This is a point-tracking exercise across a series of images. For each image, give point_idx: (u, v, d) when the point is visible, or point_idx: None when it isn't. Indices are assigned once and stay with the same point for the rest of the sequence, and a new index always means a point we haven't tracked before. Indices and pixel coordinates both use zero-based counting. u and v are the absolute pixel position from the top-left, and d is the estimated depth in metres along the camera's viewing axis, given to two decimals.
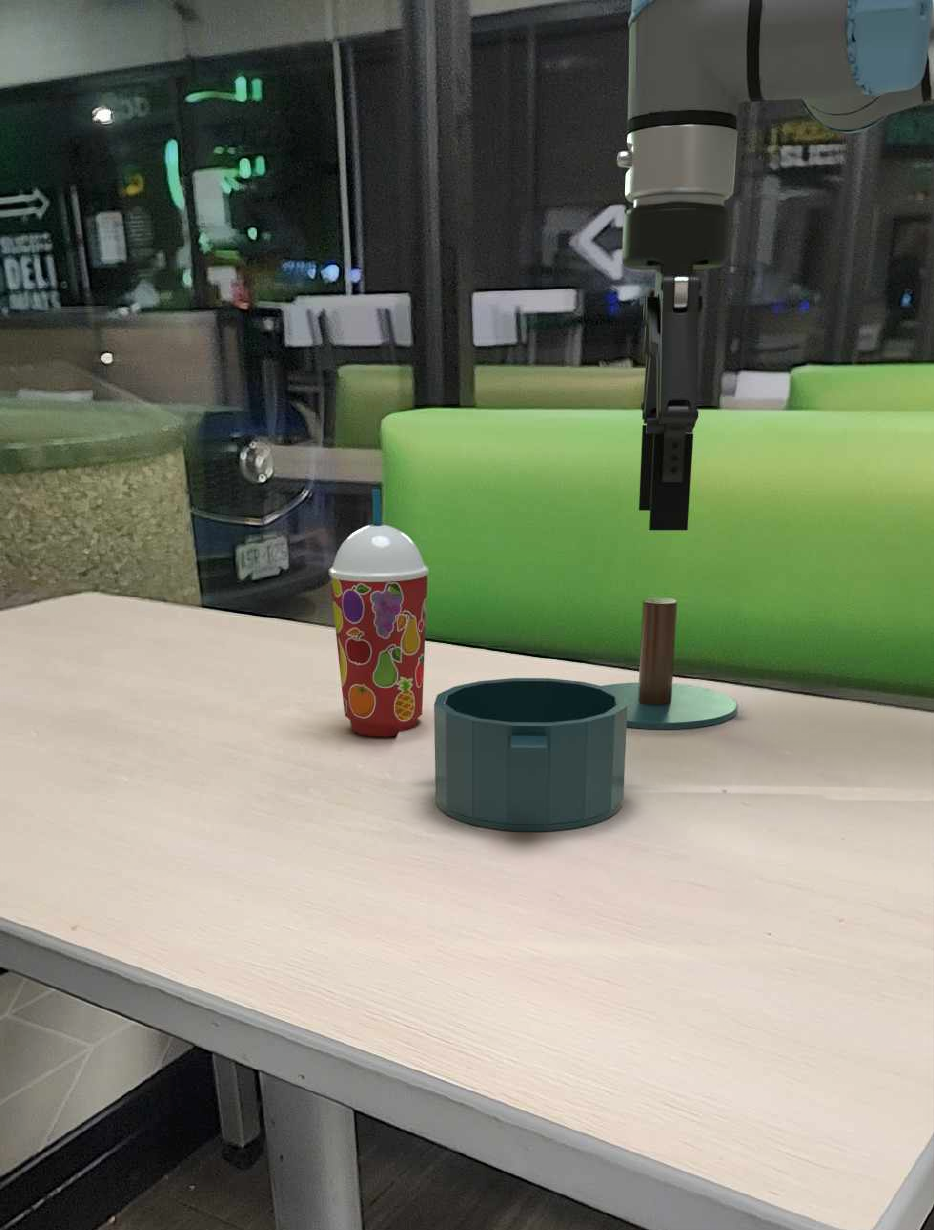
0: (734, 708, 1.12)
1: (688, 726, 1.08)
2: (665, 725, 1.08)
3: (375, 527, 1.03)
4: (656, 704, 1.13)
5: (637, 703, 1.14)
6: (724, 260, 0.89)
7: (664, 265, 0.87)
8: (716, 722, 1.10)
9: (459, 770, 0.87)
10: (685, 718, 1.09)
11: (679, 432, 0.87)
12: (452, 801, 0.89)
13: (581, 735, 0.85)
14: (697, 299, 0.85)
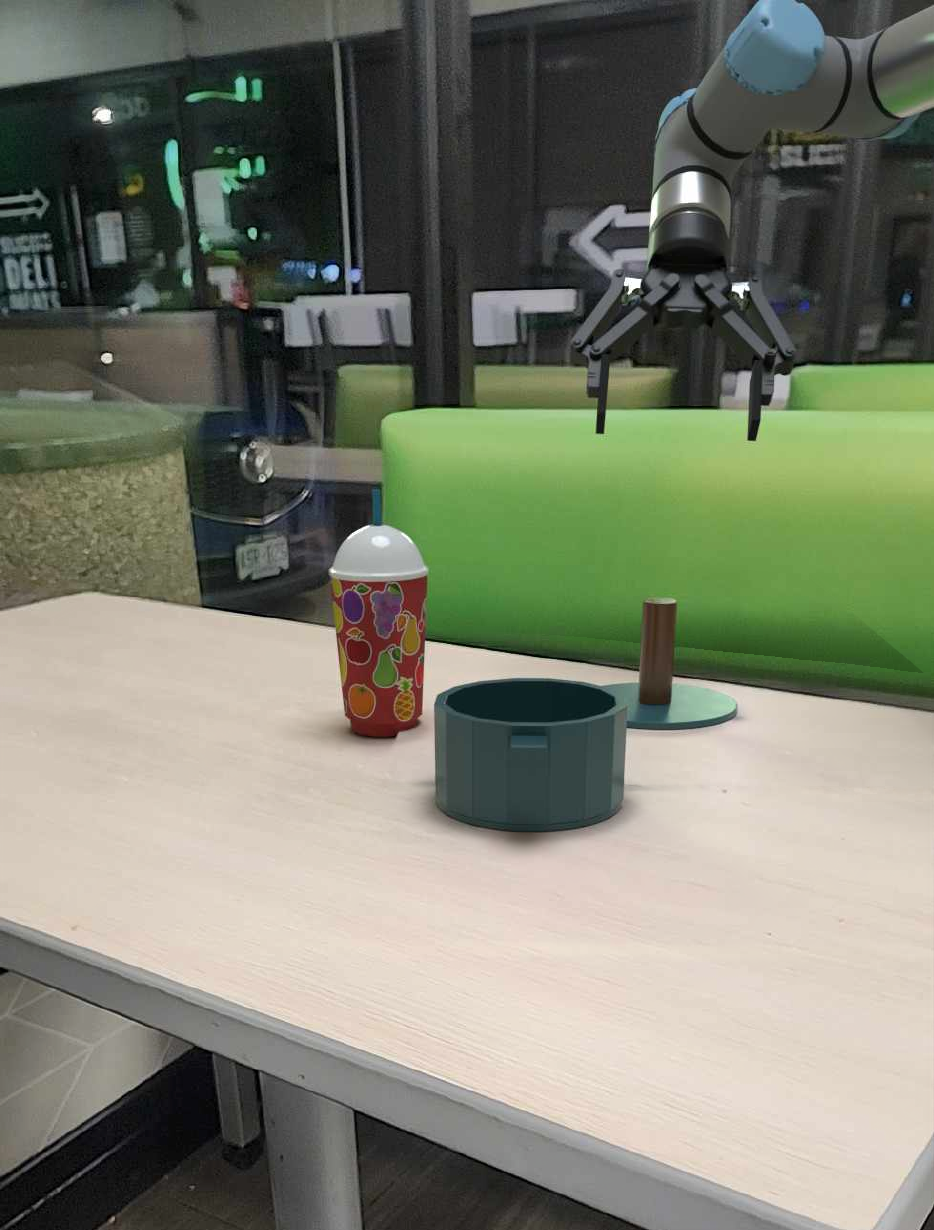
0: (734, 708, 1.12)
1: (688, 726, 1.08)
2: (665, 725, 1.08)
3: (375, 527, 1.03)
4: (656, 704, 1.13)
5: (637, 703, 1.14)
6: (675, 241, 1.15)
7: None
8: (716, 722, 1.10)
9: (459, 770, 0.87)
10: (685, 718, 1.09)
11: (586, 360, 1.15)
12: (452, 801, 0.89)
13: (581, 735, 0.85)
14: None
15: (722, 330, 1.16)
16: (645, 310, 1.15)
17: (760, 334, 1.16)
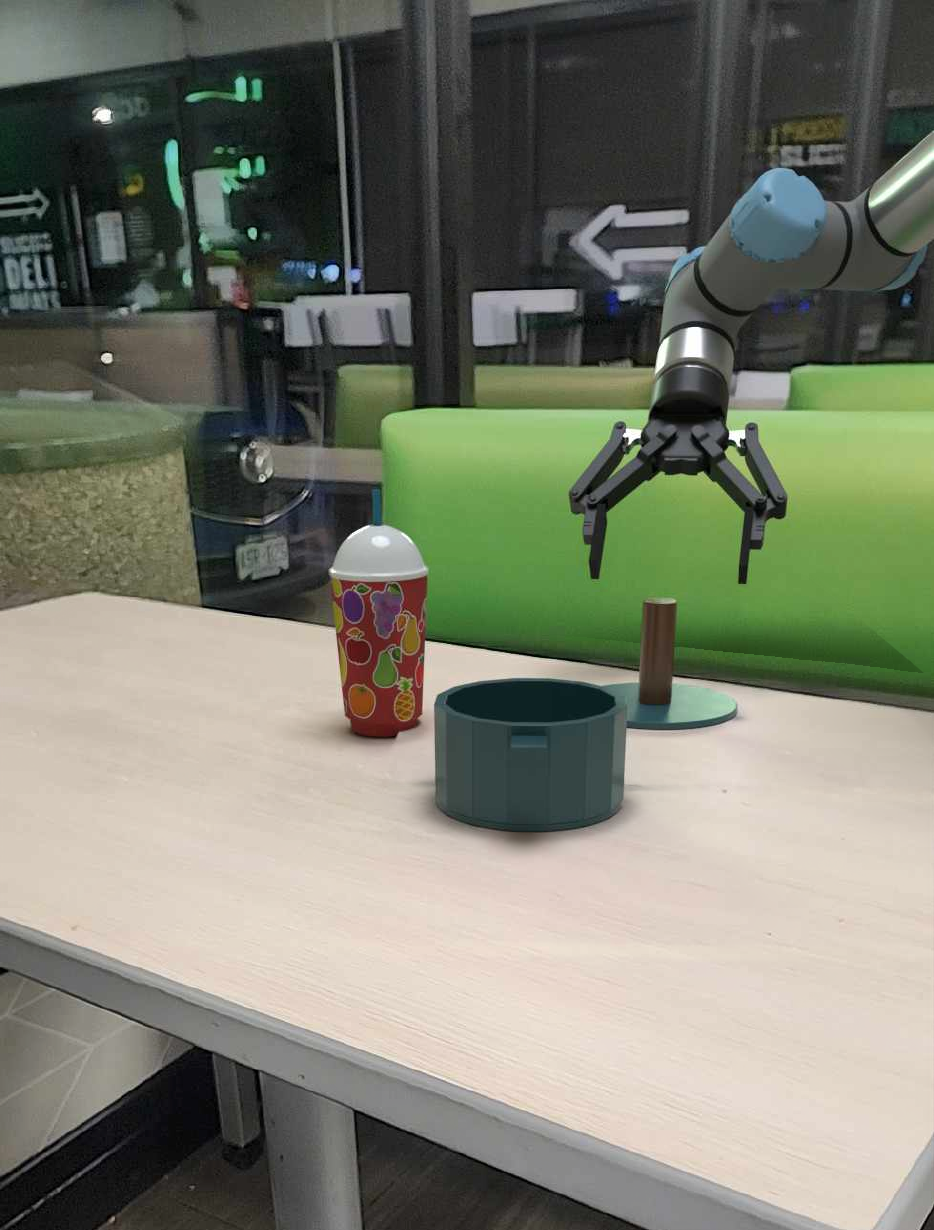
0: (734, 708, 1.12)
1: (688, 726, 1.08)
2: (665, 725, 1.08)
3: (375, 527, 1.03)
4: (656, 704, 1.13)
5: (637, 703, 1.14)
6: (671, 394, 1.19)
7: None
8: (716, 722, 1.10)
9: (459, 770, 0.87)
10: (685, 718, 1.09)
11: (584, 509, 1.20)
12: (452, 801, 0.89)
13: (581, 735, 0.85)
14: (611, 433, 1.22)
15: (718, 477, 1.19)
16: (642, 460, 1.20)
17: (756, 479, 1.19)
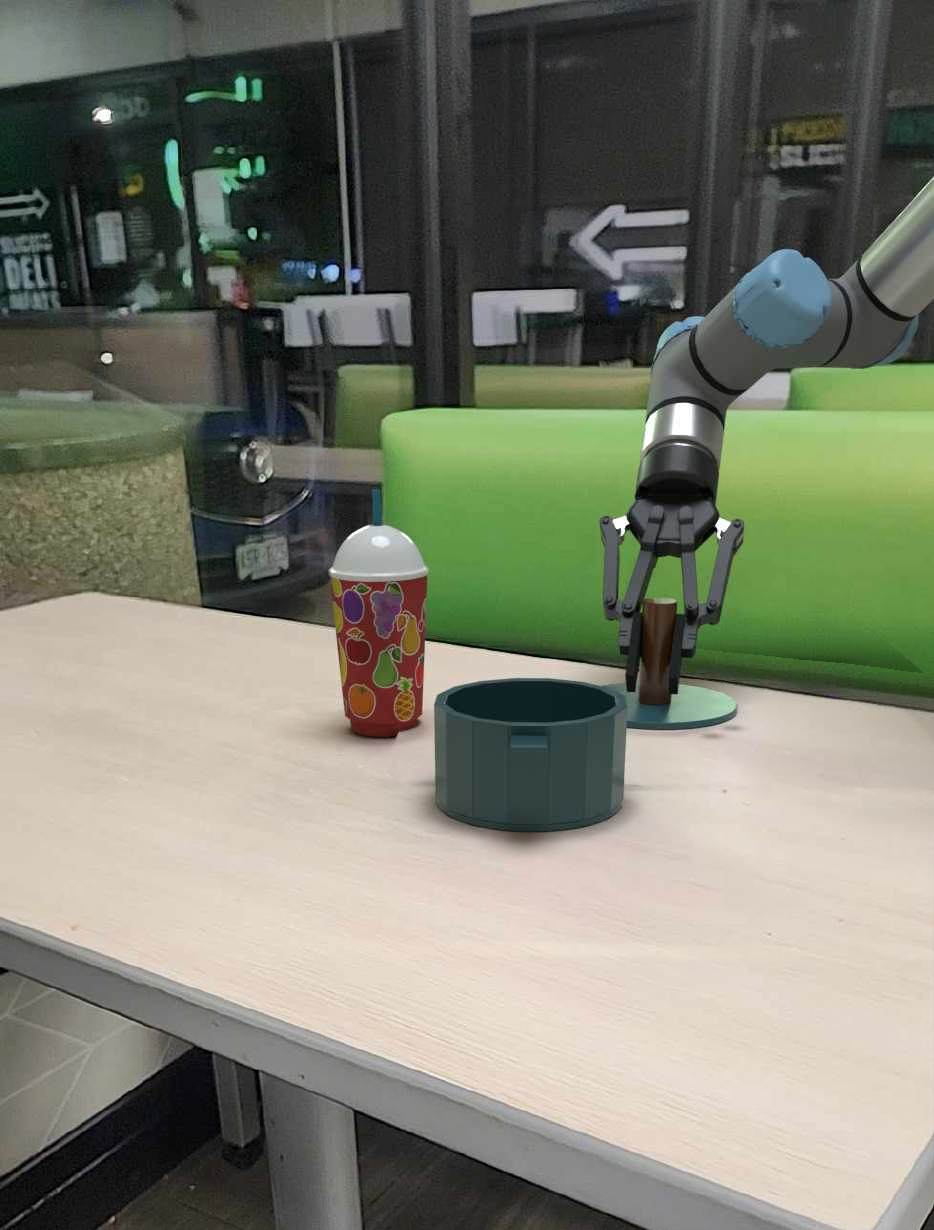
0: (734, 708, 1.12)
1: (688, 726, 1.08)
2: (665, 725, 1.08)
3: (375, 527, 1.03)
4: (656, 704, 1.13)
5: (637, 703, 1.14)
6: (659, 474, 1.14)
7: None
8: (716, 722, 1.10)
9: (459, 770, 0.87)
10: (685, 718, 1.09)
11: (619, 617, 1.13)
12: (452, 801, 0.89)
13: (581, 735, 0.85)
14: (602, 531, 1.16)
15: None
16: (649, 550, 1.14)
17: None
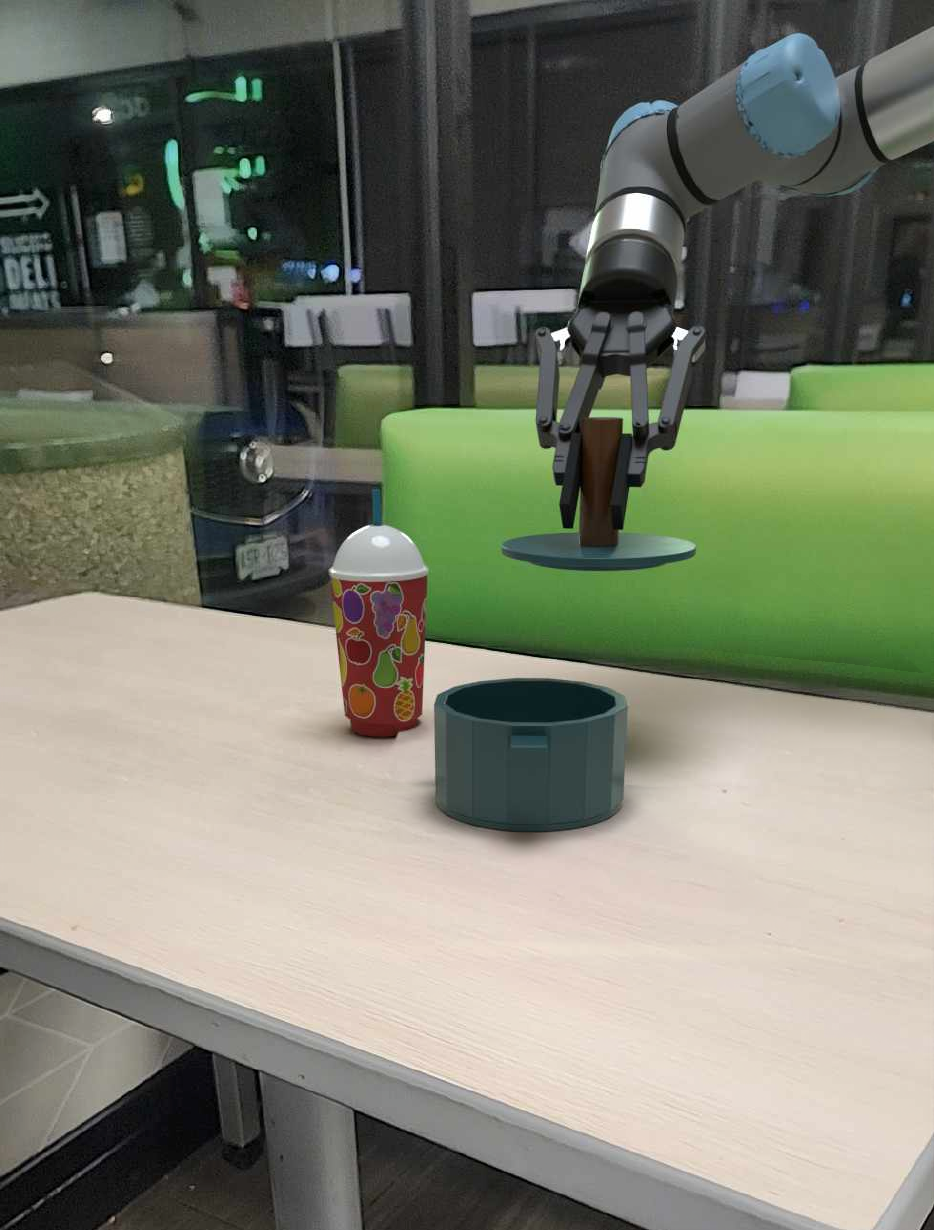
0: (691, 548, 0.94)
1: (634, 563, 0.90)
2: (606, 561, 0.90)
3: (375, 527, 1.03)
4: (599, 545, 0.95)
5: (577, 545, 0.96)
6: (604, 274, 0.96)
7: None
8: (668, 561, 0.91)
9: (459, 770, 0.87)
10: (631, 555, 0.91)
11: (555, 441, 0.95)
12: (452, 801, 0.89)
13: (581, 735, 0.85)
14: (538, 344, 0.98)
15: None
16: (592, 363, 0.96)
17: None
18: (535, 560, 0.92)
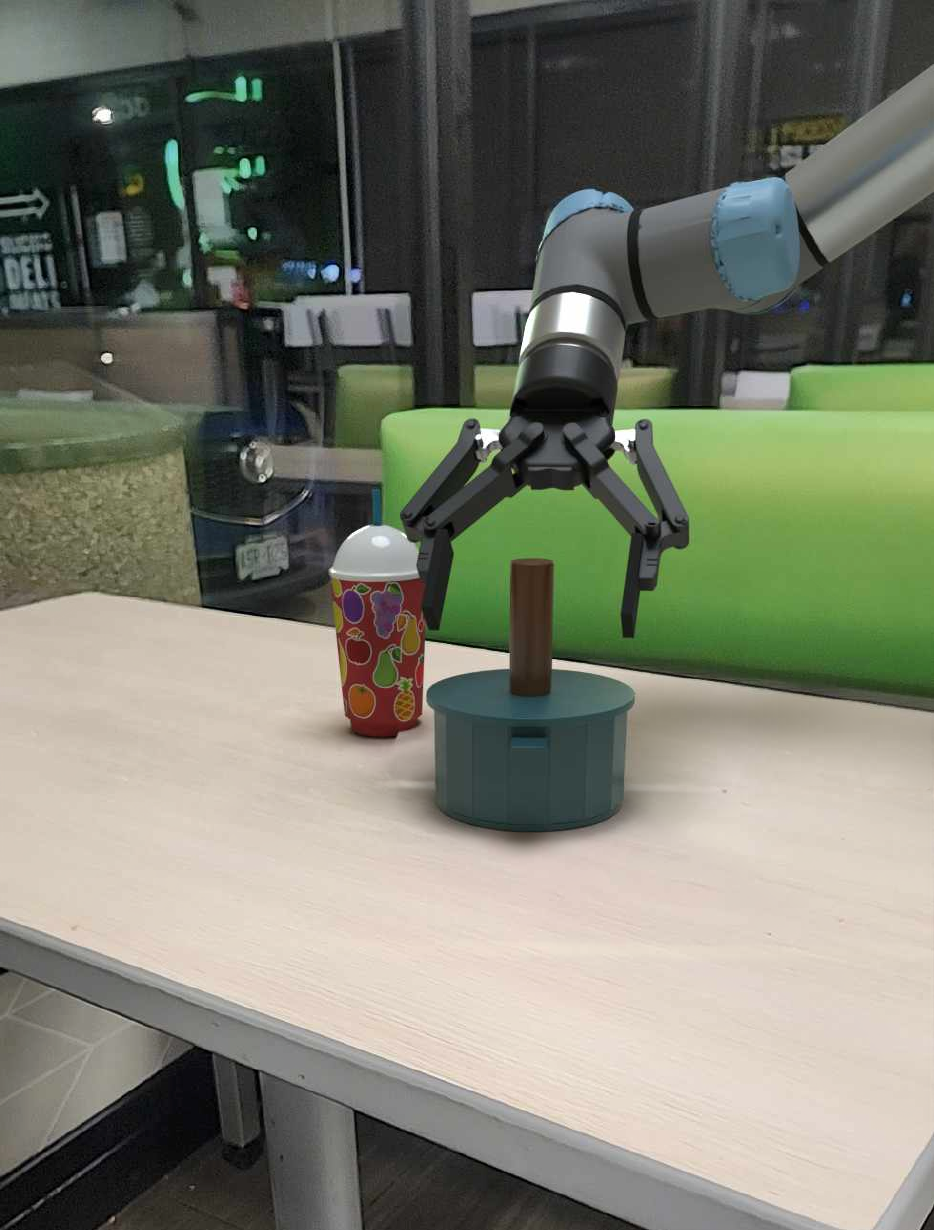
0: (629, 700, 0.87)
1: (565, 723, 0.83)
2: (535, 722, 0.83)
3: (375, 527, 1.03)
4: (530, 695, 0.88)
5: (507, 694, 0.89)
6: (536, 382, 0.89)
7: None
8: (603, 718, 0.85)
9: (459, 770, 0.87)
10: (562, 713, 0.84)
11: (421, 536, 0.89)
12: (452, 801, 0.89)
13: (581, 735, 0.85)
14: (459, 435, 0.91)
15: (600, 492, 0.89)
16: (498, 471, 0.89)
17: (650, 496, 0.89)
18: (459, 717, 0.85)
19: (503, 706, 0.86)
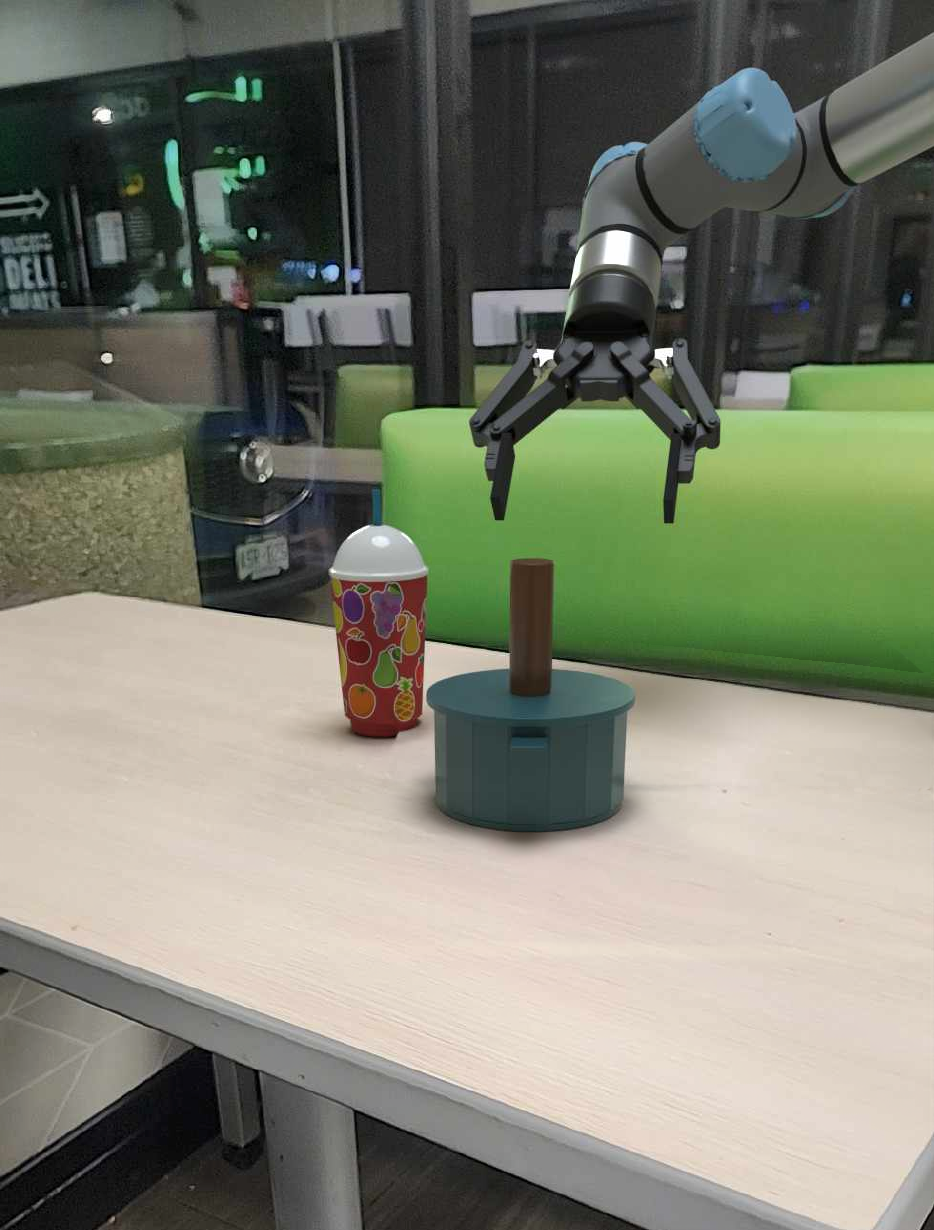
0: (629, 700, 0.87)
1: (565, 723, 0.83)
2: (535, 722, 0.83)
3: (375, 527, 1.03)
4: (530, 695, 0.88)
5: (507, 694, 0.89)
6: (587, 306, 1.03)
7: None
8: (603, 718, 0.85)
9: (459, 770, 0.87)
10: (562, 713, 0.84)
11: (487, 440, 1.03)
12: (452, 801, 0.89)
13: (581, 735, 0.85)
14: (519, 354, 1.05)
15: (642, 402, 1.03)
16: (554, 383, 1.03)
17: (685, 404, 1.03)
18: (459, 717, 0.85)
19: (503, 706, 0.86)
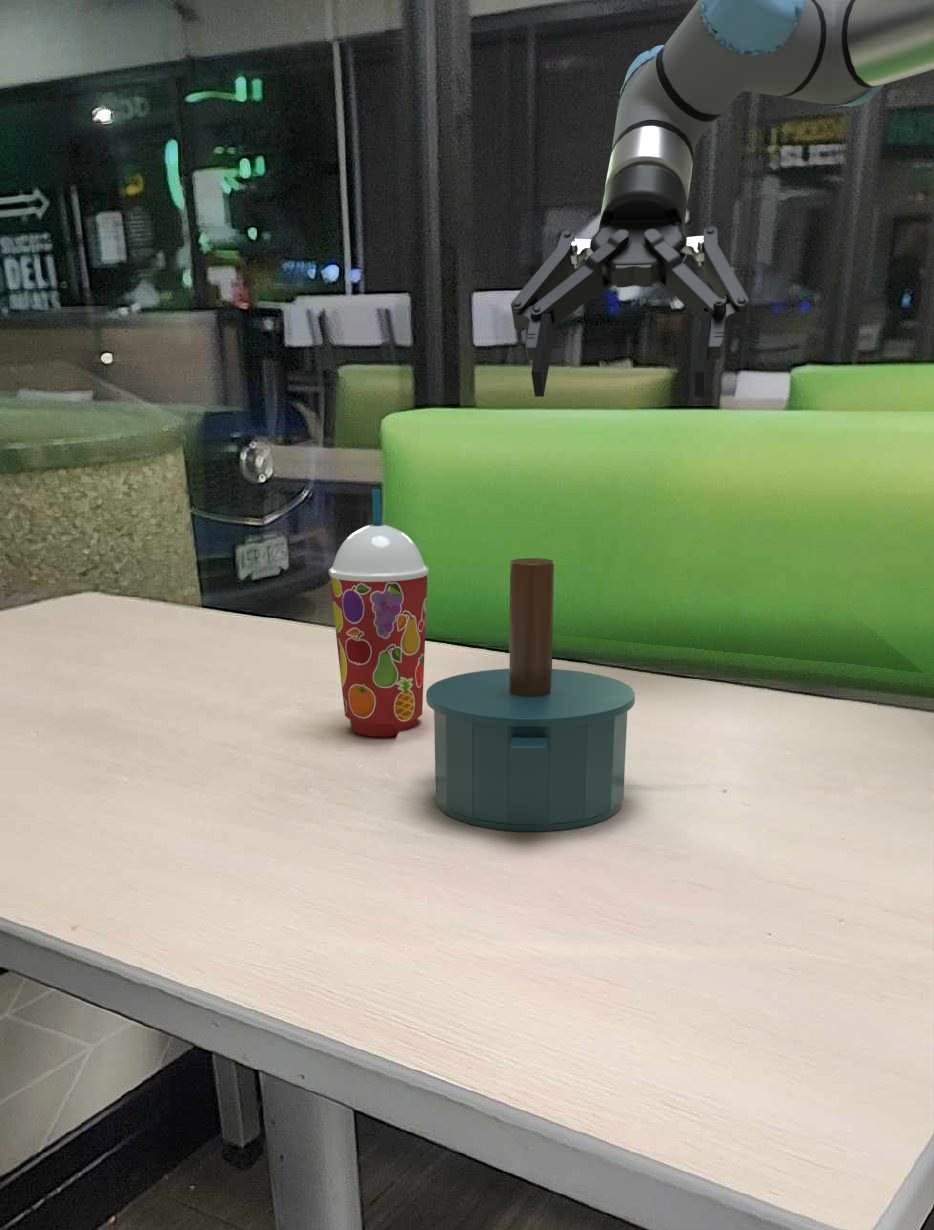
0: (629, 700, 0.87)
1: (565, 723, 0.83)
2: (535, 722, 0.83)
3: (375, 527, 1.03)
4: (530, 695, 0.88)
5: (507, 694, 0.89)
6: (623, 195, 1.09)
7: None
8: (603, 718, 0.85)
9: (459, 770, 0.87)
10: (562, 713, 0.84)
11: (528, 322, 1.10)
12: (452, 801, 0.89)
13: (581, 735, 0.85)
14: (558, 242, 1.11)
15: (674, 285, 1.09)
16: (591, 268, 1.09)
17: (715, 288, 1.09)
18: (459, 717, 0.85)
19: (503, 706, 0.86)
